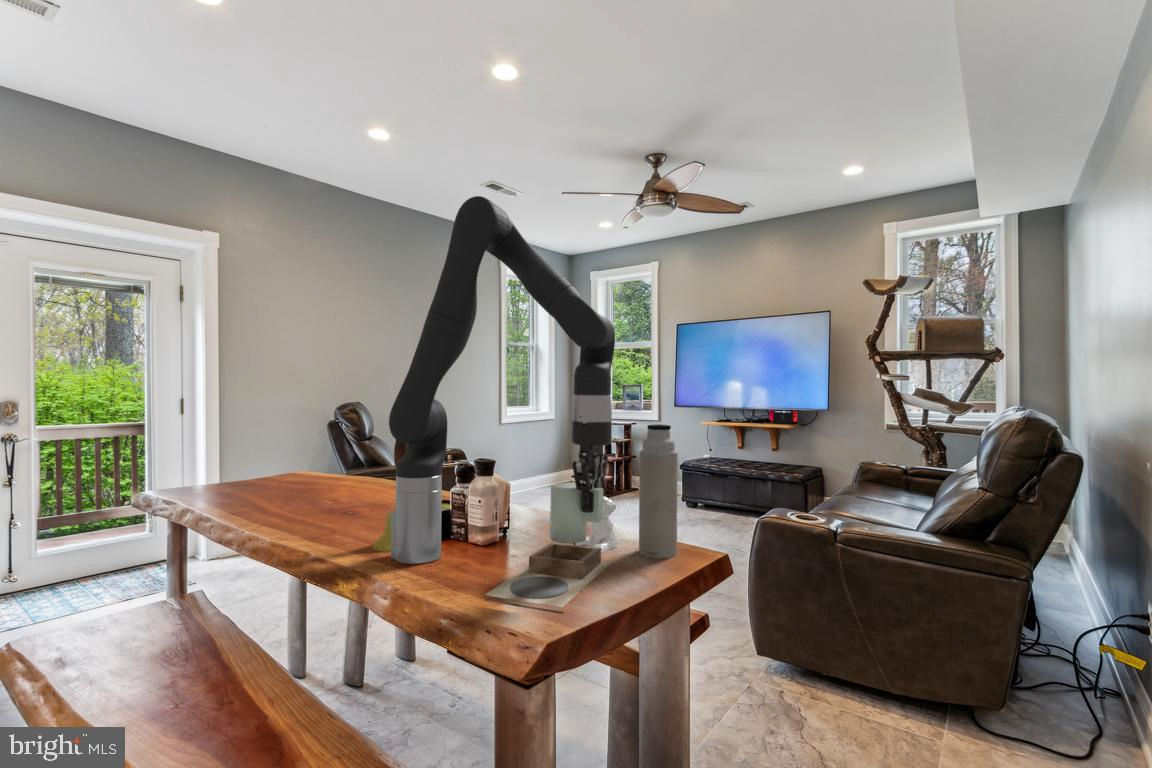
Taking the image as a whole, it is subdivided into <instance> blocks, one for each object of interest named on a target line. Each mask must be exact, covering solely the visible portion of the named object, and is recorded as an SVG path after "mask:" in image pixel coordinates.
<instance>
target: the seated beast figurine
mask: <svg viewBox="0 0 1152 768" xmlns="http://www.w3.org/2000/svg"><path fill="white" fill-rule="evenodd" d="M616 509H617V505H616V504H615V503H614V502H613V500H612V499H610V498H608V497H606V496H605V495H603V520H602V521H600V522H599V523H597V522H590V529H591V530H590V535H589V536H586V540H585V541H583V542H580V543H574V545H579V546H588V547H596V548H601V554H602V553H605V552H608V551H609V550H612V549H615V548H616V547H617V546H618V545H619V540H620V539H619V537H618V535H617V534H616V531H615V528H614V524H613V522H612V519H611V518H610V516H611V515H612V514H613V513H614V512H615V510H616Z"/></svg>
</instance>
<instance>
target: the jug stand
mask: <svg viewBox="0 0 1152 768" xmlns="http://www.w3.org/2000/svg"><path fill="white" fill-rule="evenodd" d="M609 565H610V563H604V562H602V553H601V548H596V547H588V546H587V545H576V544H567V543H558V542H554V541H551V542H550V543H548V544H547V545H545V546H544V547H542V548H541V549H539V550H537V551H536V552H534V553H532V554H530V555H529V556H528V566H526V567H525V568H523V569H522V570H521V571H519V572H517V573H515V574H514V575H513V576H511V577H510V578H508V579H507V580H506V581H504V582H502V583H500V584H499V585H497V586H496V587H494V588H493V589H491V590H490V591H488V592H487V593H485V594H484V596H487V597H494V598H500V599H505V600H511V601H519V602H524V603H529V604H537V605H543V606H548V607H549V606H550V607H555V608H564V607H565V606H566V605H567V604H568V603H569V602H570V601H571V600H572V599H573V598H574V597H575V596H577V594H579V593H580V592H581V591H582V590H583V589H584V588H586V586H588V585H589V583H590V582H592V581H593V580H594V579H595V578H596V577H597V576H598V575H599V574H600V573H602V572H603V571H604V570H605V569H606V568H607V567H608V566H609ZM483 601H484V602H488V603H495V604H502V605H507V606H514V607H520V608H526V609H530V610H531V609H532V610H537V611H542V612H543V611H544V612H548V613H555V614H560V615H562V614H563V613H564V611H560V610H552V609H548V608H540V607H534V606H529V605H523V604H517V603H510V602H506V601H505V602H503V601H500V600H493V599H492V600H491V599H484V600H483Z"/></svg>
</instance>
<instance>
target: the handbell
mask: <svg viewBox="0 0 1152 768" xmlns="http://www.w3.org/2000/svg"><path fill="white" fill-rule="evenodd" d="M407 448H408V443H401V442H399V441H397V440H396V439H395V443H394V447H393V449H394V450H393V462H394V466H395V467H396V464H397V462H398V461H399V460H400V459H401V458H402V457H403V456H404V454H405V453H406V451H407ZM394 511H396V506H395V507H394V508H393V510H391V511H389V512H388V513H387V514H386V515H385V516H386V517H385V529H384V531H383V533H382V535H381V536H380V537H379V538H378V539H377V540H376V541H374V542H373V544H372V549H373V550H374V551H377V550H378V551H379V552H382V551H383V552H384V553H391V514H392V512H394ZM378 551H377V552H378Z"/></svg>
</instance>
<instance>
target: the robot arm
mask: <svg viewBox="0 0 1152 768" xmlns="http://www.w3.org/2000/svg"><path fill="white" fill-rule="evenodd" d="M486 252H487V253H489V254H490V255H491V256H493V257H494V258H496V259H497V260H499V261H500V262H501V263H503V264H504V265H505V266H506V267H507V268H508V269H510V270H511V272H512V273H513V274H514V275H515V276H516V278H518V280H519V281H520V283H521V284H522V286H523V287H524V289H525V290H526V291H527V293H528V294H529V295H530V296H531V297H532V299H533V300H535V301H536V302H537V303H538V305H539V306H540V307H542V309H543V310H544V311H545V312H547V313H548V315H550V316H551V318H553V319H554V320H555V321H556V322H557V324H558V325H559V327H560V328H561V329H562V330H563V332H564V333H565V334H566V335H567V336H568V338H570V340H572V342H573V343H574V344H576V346H578V347H579V348H580V351H579V363H578V365H577V366H576V367H575V370H574V377H573V380H574V381H573V400H572V407H571V408H572V410H571V443H572V444H573V445H575V446H576V445H577V446H579V451H578V454H577V455H578V456H577V461H572V470H573V471H572V472H573V477H574V481H575V482H574V484H576V489H577V490H580V492H582V498H581V510H582V512H587V513H591V512H593V508H594V493H593V492H594V487H595V488H602V485H604V484H605V480H606V479H605V477H606V471H607V465H608V460H609V456H608V454H604V449H603V446H609V445H611V443H612V423H613V422H612V421H613V420H612V419H613V418H612V417H613V415H612V414H613V405H612V396H611V395H612V374H611V373H612V364H613V360H614V354H615V347H616V344H615V343H616V334H615V333H616V331H615V328H614V325H613V324H612V322H611V320H610V319H608V318H607V317H605V316H603V315H601V314H600V313H598V312H597V311H596V310H595V309H594V308H593V307H592V306H591V305H589V304H588V303H587V301H585V300H584V299H583V298H582V297H581V294H580V292H578V290H577V289H576V288H575V287H574V286H573V285H572V284H571V283H570V282H569V281H568V280H567V279H566V278H565V277H564V276H563V275H562V274H561V273H559V272H558V270H557V269H555V268H554V267H553V266H552V265H551V264H550V263H549V262H547V261H546V260H545V259H544V258H543V257H542V256H540V254H538V253H537V252H536V251H535V249H534V248H533V247H532V246H531V245H530V243H528V241H527V240H526V239H525V238H524V236H523V235H522V234H521V232H520V231H519V229H518V228H517V227H516V226H515V224H514V222H513V221H512V220H511V218H510V217H509V215H508V214H507V212H506V211H505V210H504V209H502V208H501V207H500V206H499V205H497V204H496V203H494V202H493V201H492V200H490V199H489V198H486V197H484V196H481V195H478V196H477V195H476V196H472V197H469V198H468V199H467V200H464V202H463V203H462V204H461V206H460V207H459V208H458V211H457V213H456V215H455V218H454V222H453V227H452V230H451V236H450V240H449V245H448V250H447V254H446V258H445V261H444V265H443V268H442V271H441V274H440V277H439V280H438V283H437V285H436V286H437V287H436V290H435V293H434V295H433V299H432V301H431V304H430V307H429V309H428V313H427V315H426V318H425V320H424V324H423V328H422V331H421V334H420V337H419V341H418V343H417V346H416V348H415V352H414V354H413V357H412V361H411V363H410V366H409V369H408V371H407V374H406V376H405V378H404V381H403V383H402V384H401V387H400V389H399V392H398V393H397V396H396V397H395V400H394V402H393V405H392V407H391V409H390V413H389V417H388V427H389V432H390V434H391V436H392V437H393V438H394V439H395V441H396V440H397V441H399V442H401V443H408V448H407V451H406V453H405V454H404V456H403V457H402V458H401V459H400V460H399V461H398V462H397V464H396V466H395V507H396V511H394V512H392V514H391V552H390V559H392V560H395V561H396V562H398V563H401V564H409V565H410V564H411V565H412V564H415V565H416V564H425V563H431V562H434V561H436V560H439V559H440V558H441V557H442V504H443V503H442V501H443V500H442V497H443V496H442V492H443V491H442V487H443V485H442V482H443V481H442V479H443V478H442V477H443V465H444V463H445V461H446V456H447V444H448V442H447V441H448V417H447V411H446V409H445V407H444V406H443V404H442V403H441V402H440V401H438V400H437V399H435V396H436V394H437V390H438V388H439V386H440V384H441V382H442V380H443V379H444V377H445V376H446V374H447V373H448V372H449V370H450V369H451V368H452V366H453V365H454V364H455V363H456V361H457V360H458V359H459V357H460V356H461V354H462V353H463V352H464V349H465V348H466V347H467V344H468V342H469V338H470V336H471V333H472V330H473V327H474V325H475V322H476V321H475V320H476V317H477V308H478V295H477V293H478V292H477V291H478V290H477V288H478V286H477V284H478V282H477V281H478V274H479V271H480V266H481V263H482V260H483V258H484V254H485V253H486Z"/></svg>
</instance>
